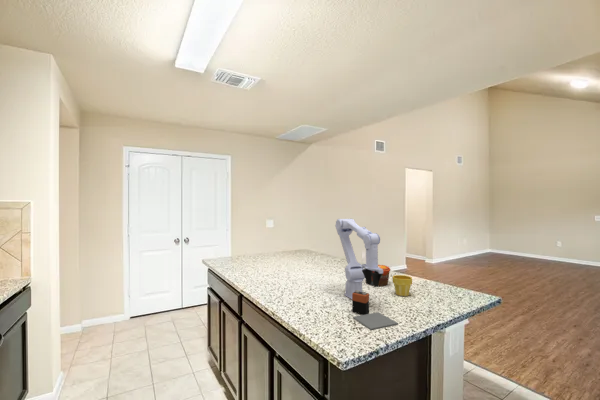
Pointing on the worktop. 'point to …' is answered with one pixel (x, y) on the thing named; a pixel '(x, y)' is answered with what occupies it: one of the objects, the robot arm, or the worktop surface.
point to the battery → (360, 302)
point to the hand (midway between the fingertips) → (372, 285)
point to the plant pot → (402, 284)
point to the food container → (383, 276)
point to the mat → (375, 321)
